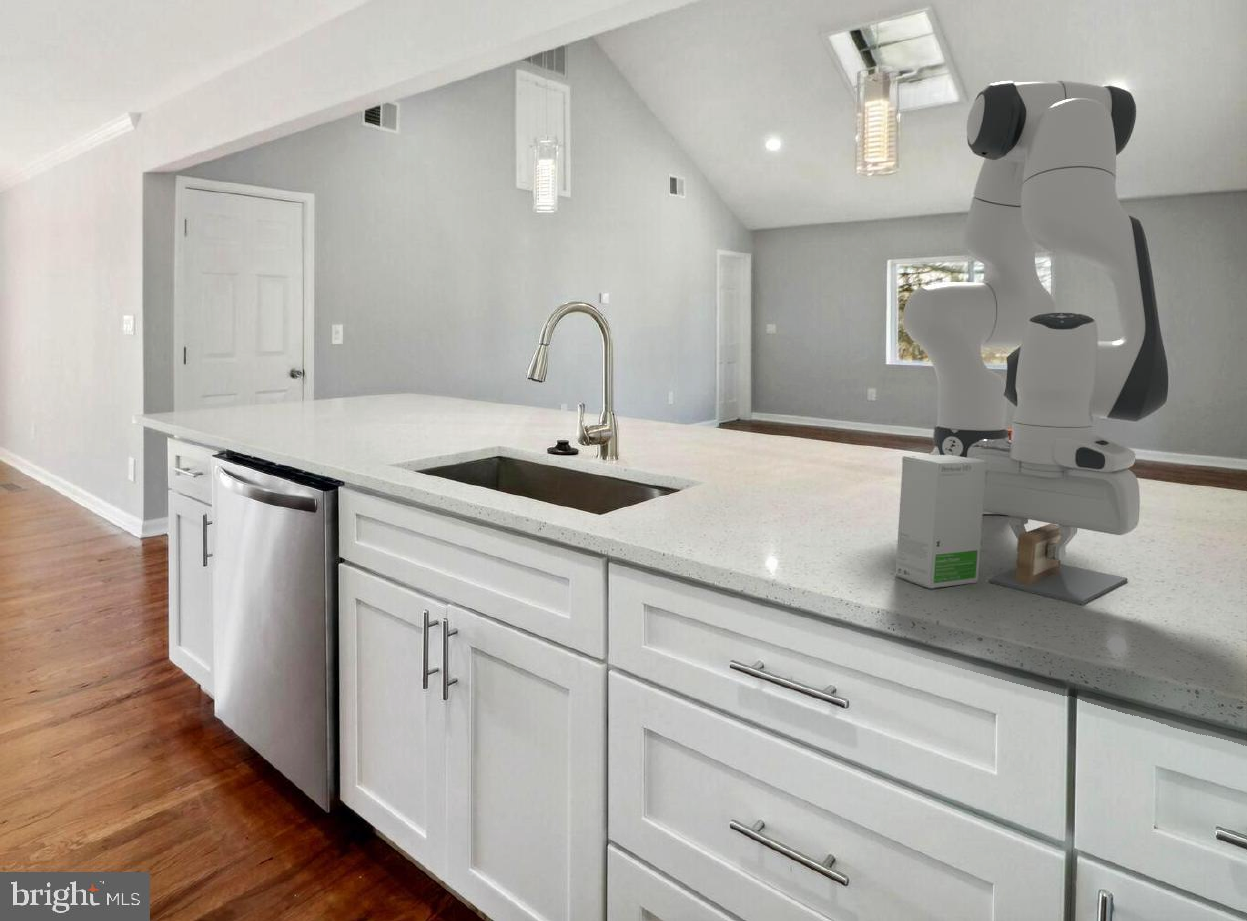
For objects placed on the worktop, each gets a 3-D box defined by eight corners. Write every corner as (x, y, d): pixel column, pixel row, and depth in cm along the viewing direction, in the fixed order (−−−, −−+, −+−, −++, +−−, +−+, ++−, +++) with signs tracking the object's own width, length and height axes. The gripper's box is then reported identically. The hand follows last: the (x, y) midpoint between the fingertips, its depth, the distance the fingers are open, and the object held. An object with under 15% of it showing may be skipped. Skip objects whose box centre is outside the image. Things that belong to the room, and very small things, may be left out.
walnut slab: (1046, 568, 108) (1051, 523, 107) (1060, 571, 106) (1064, 525, 105) (1015, 581, 102) (1019, 534, 101) (1029, 584, 101) (1033, 537, 100)
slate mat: (1037, 562, 112) (1038, 559, 112) (1127, 581, 104) (1127, 578, 104) (988, 581, 103) (988, 578, 103) (1081, 604, 95) (1081, 601, 95)
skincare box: (929, 590, 100) (937, 463, 97) (891, 575, 106) (898, 455, 103) (980, 582, 103) (990, 459, 100) (941, 568, 109) (949, 451, 106)
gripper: (956, 439, 107) (949, 542, 110) (1130, 459, 92) (1118, 579, 94) (980, 435, 111) (973, 535, 114) (1151, 454, 96) (1138, 568, 98)
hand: (1040, 555), depth 104 cm, fingers open, 2 cm apart
